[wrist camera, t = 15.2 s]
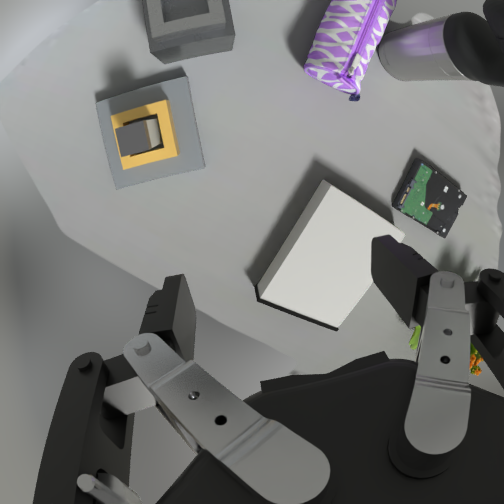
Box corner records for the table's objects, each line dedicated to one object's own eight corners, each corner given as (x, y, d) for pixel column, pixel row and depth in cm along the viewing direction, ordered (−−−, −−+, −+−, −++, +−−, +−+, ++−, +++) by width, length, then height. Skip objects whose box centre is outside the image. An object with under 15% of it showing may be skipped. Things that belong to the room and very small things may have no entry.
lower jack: (187, 77, 39) (184, 73, 35) (205, 165, 45) (203, 172, 41) (100, 102, 39) (87, 102, 34) (120, 186, 45) (110, 194, 41)
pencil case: (345, 102, 43) (373, 102, 34) (292, 78, 41) (309, 71, 32) (384, -1, 35) (413, -15, 26) (336, -27, 32) (359, -48, 24)
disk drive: (459, 190, 52) (413, 156, 48) (468, 195, 49) (422, 159, 45) (437, 233, 56) (389, 206, 52) (445, 239, 53) (397, 211, 49)
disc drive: (253, 286, 56) (256, 302, 52) (320, 177, 48) (330, 185, 44) (328, 316, 61) (336, 332, 57) (393, 224, 54) (407, 235, 49)
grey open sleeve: (221, -6, 33) (222, -42, 22) (231, 50, 38) (236, 28, 26) (155, 8, 33) (134, -22, 22) (164, 64, 38) (144, 48, 26)
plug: (157, 118, 40) (143, 120, 32) (162, 142, 41) (149, 149, 33) (134, 124, 39) (114, 128, 31) (139, 147, 41) (121, 157, 33)
